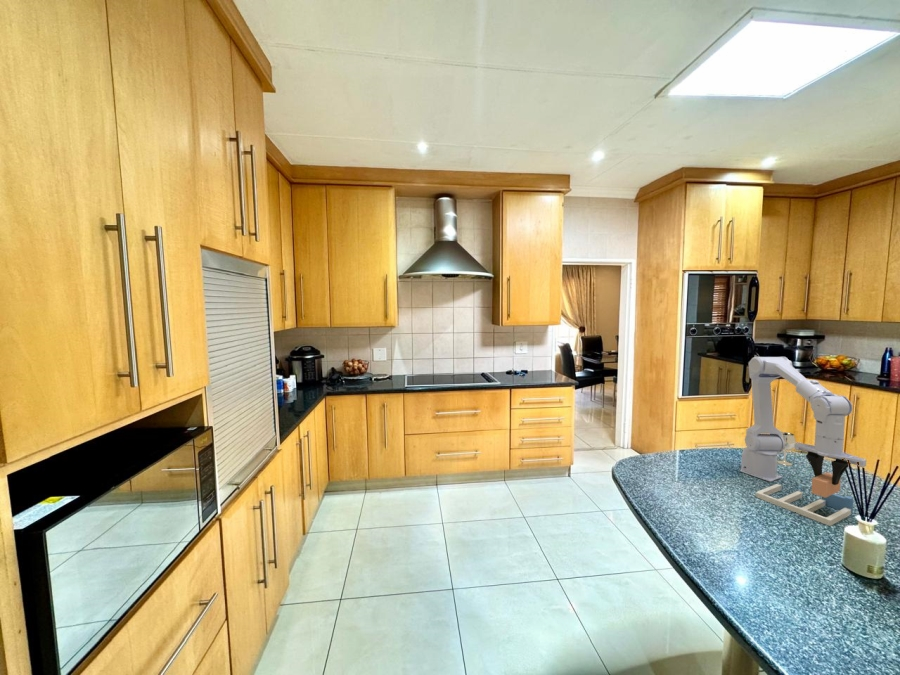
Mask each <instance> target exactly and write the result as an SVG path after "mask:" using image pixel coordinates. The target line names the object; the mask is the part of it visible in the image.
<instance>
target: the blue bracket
mask: <svg viewBox="0 0 900 675" xmlns="http://www.w3.org/2000/svg"><path fill="white" fill-rule="evenodd" d="M821 499H822V500H825V501H826V506H828V507H829V508H830V507H831V508H833V509H835V510H838V511H840V510H841V509H843V508H848V509H851V515H852V514H854V511H853V510H854V497H852V496H848V495H847V496H845V497H844V496H841V495H839V494H836V493H835V494H832V495H830V496H828V497H826V498H825V497H822V496H821Z"/></svg>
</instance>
